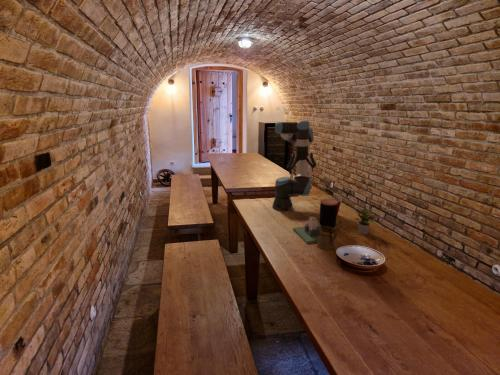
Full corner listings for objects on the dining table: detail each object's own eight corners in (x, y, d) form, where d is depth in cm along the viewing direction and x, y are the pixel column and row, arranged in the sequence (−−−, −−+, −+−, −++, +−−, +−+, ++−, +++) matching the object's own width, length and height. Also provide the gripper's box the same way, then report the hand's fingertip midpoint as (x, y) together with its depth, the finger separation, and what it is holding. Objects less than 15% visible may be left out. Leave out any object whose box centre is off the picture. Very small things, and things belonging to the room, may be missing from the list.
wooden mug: (334, 254, 170) (337, 223, 165) (313, 246, 180) (315, 216, 175) (343, 248, 176) (345, 219, 171) (322, 241, 186) (324, 212, 181)
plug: (308, 231, 195) (308, 216, 192) (312, 231, 196) (313, 216, 193) (311, 234, 190) (312, 219, 188) (316, 234, 191) (317, 218, 188)
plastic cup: (332, 211, 232) (333, 196, 229) (343, 215, 224) (345, 199, 221) (321, 214, 226) (322, 198, 223) (333, 219, 218) (334, 203, 215)
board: (292, 230, 201) (293, 222, 199) (315, 227, 205) (315, 219, 204) (307, 243, 182) (307, 235, 181) (331, 240, 187) (332, 231, 185)
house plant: (356, 238, 188) (358, 213, 184) (345, 229, 202) (347, 205, 197) (378, 237, 191) (381, 211, 186) (366, 227, 204) (369, 204, 199)
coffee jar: (334, 224, 209) (336, 199, 204) (336, 231, 199) (339, 204, 194) (317, 224, 210) (319, 198, 205) (319, 230, 200) (321, 204, 195)
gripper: (286, 147, 192) (285, 181, 199) (322, 145, 200) (320, 177, 206) (281, 145, 199) (281, 178, 206) (317, 143, 206) (315, 174, 213)
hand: (301, 177), depth 206 cm, fingers open, 13 cm apart
